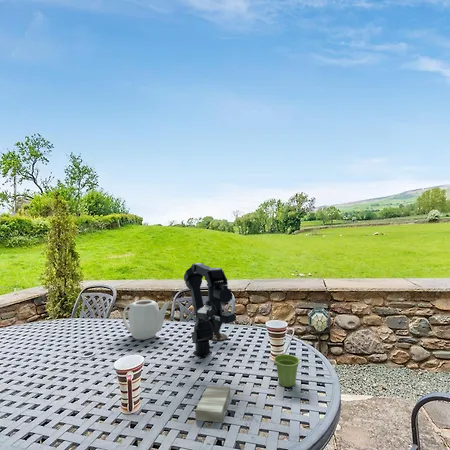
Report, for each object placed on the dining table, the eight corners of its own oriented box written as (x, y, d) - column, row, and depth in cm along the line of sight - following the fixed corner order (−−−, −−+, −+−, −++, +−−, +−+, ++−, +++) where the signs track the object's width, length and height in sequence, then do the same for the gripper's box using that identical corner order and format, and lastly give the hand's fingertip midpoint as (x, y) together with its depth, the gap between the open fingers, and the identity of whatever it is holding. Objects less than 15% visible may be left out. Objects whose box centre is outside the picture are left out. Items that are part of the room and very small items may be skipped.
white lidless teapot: (166, 342, 158) (165, 305, 158) (116, 341, 161) (116, 305, 162) (174, 332, 174) (173, 298, 174) (129, 331, 177) (128, 298, 177)
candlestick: (227, 334, 169) (225, 270, 169) (230, 341, 158) (228, 272, 158) (207, 335, 167) (206, 270, 168) (209, 342, 157) (207, 273, 157)
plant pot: (301, 378, 118) (300, 355, 118) (298, 391, 109) (298, 366, 109) (276, 375, 121) (276, 353, 121) (272, 387, 112) (271, 363, 112)
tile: (207, 385, 109) (195, 410, 94) (230, 386, 107) (221, 412, 92) (208, 394, 109) (195, 421, 94) (230, 396, 107) (221, 423, 92)
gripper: (186, 298, 131) (186, 335, 131) (217, 305, 118) (218, 346, 118) (205, 293, 139) (205, 328, 139) (236, 299, 126) (237, 338, 126)
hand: (215, 335), depth 130 cm, fingers closed
